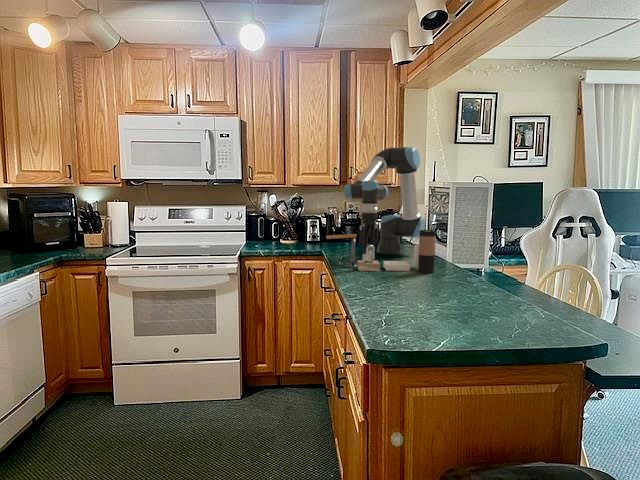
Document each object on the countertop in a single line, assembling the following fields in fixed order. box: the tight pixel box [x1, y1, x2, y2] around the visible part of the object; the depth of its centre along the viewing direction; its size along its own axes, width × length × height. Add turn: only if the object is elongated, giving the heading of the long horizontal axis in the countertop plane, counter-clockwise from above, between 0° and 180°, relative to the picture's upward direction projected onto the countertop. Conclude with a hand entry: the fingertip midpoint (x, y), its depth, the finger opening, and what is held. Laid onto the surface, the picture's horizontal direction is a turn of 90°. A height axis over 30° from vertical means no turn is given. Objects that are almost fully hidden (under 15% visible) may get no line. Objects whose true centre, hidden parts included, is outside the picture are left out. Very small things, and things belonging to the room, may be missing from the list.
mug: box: [413, 244, 419, 270], centre depth 238 cm, size 12×9×11 cm
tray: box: [382, 260, 411, 272], centre depth 235 cm, size 11×11×3 cm
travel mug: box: [417, 229, 437, 275], centre depth 226 cm, size 8×8×20 cm
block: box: [356, 259, 381, 272], centre depth 234 cm, size 10×10×4 cm
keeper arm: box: [325, 233, 357, 240], centre depth 235 cm, size 17×3×1 cm, turn 122°
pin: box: [365, 243, 373, 263], centre depth 233 cm, size 4×4×12 cm
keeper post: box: [348, 237, 357, 268], centre depth 240 cm, size 4×4×15 cm
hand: (368, 259), depth 233 cm, fingers closed on pin, 4 cm apart
